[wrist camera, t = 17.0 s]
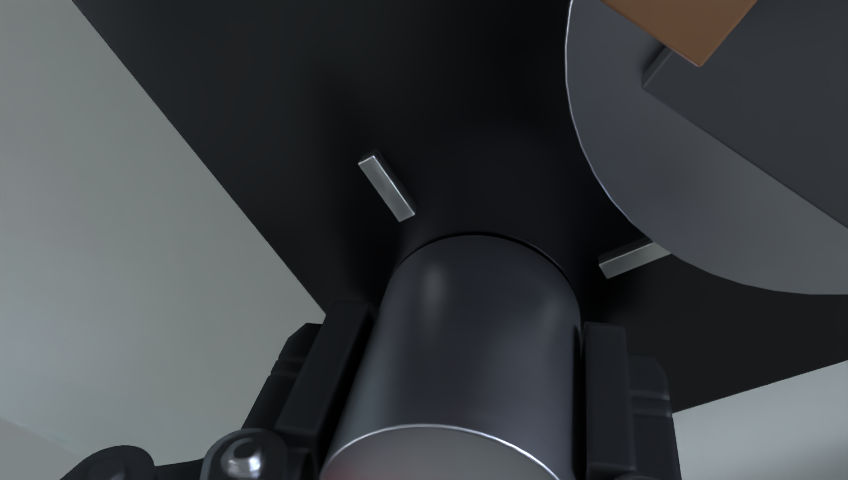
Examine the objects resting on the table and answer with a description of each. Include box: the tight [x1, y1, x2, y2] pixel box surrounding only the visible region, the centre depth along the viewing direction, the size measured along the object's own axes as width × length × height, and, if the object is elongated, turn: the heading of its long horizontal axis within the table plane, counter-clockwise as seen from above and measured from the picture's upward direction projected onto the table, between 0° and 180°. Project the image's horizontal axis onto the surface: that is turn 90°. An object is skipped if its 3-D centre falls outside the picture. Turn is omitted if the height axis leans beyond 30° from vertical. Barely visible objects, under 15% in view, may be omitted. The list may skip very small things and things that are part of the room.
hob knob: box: [318, 235, 581, 480], centre depth 13 cm, size 4×4×5 cm
